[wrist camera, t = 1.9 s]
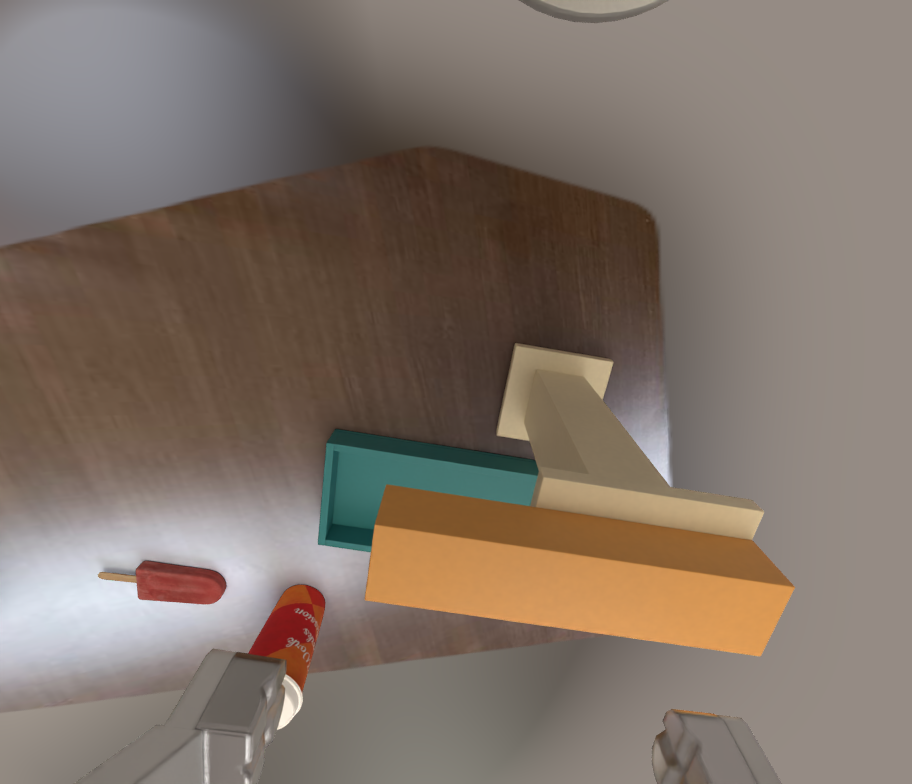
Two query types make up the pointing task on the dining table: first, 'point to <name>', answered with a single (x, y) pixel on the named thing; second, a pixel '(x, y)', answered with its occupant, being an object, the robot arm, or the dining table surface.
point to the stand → (600, 450)
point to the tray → (407, 480)
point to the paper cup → (292, 641)
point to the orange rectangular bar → (573, 571)
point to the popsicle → (173, 583)
